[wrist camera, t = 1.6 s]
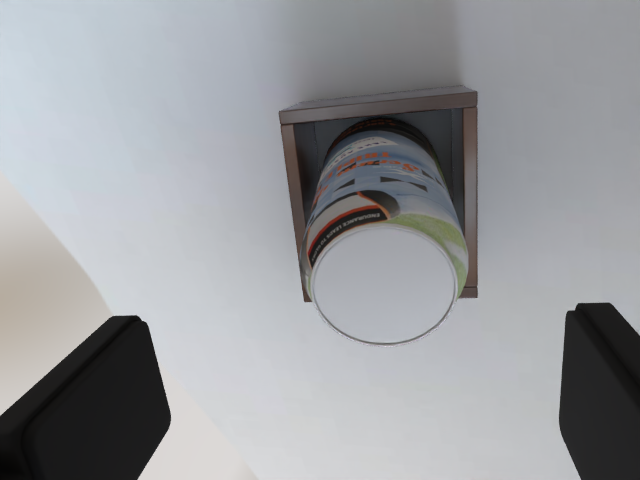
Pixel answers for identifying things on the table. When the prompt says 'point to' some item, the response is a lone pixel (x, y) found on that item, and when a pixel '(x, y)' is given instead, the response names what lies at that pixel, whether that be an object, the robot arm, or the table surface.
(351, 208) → the beverage can
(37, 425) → the robot arm
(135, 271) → the table surface
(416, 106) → the can holder
